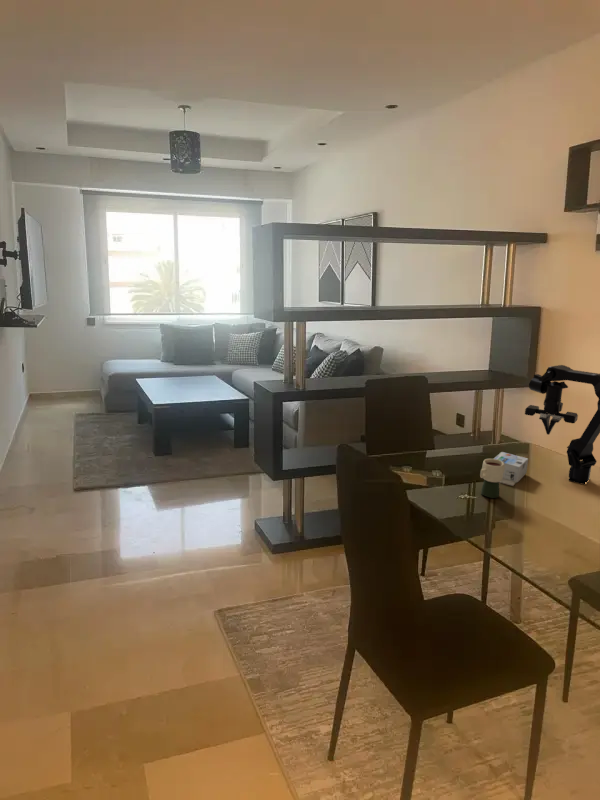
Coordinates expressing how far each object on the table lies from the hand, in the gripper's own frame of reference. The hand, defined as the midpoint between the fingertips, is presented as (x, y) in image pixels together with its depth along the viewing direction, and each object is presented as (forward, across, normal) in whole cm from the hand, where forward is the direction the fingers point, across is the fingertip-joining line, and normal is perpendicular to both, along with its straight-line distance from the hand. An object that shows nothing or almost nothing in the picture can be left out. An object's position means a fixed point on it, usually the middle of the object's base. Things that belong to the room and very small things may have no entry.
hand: (548, 434), depth 239 cm
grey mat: (+13, +10, +20) cm, 26 cm away
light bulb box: (+9, +3, +20) cm, 22 cm away
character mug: (+13, +8, +41) cm, 44 cm away
